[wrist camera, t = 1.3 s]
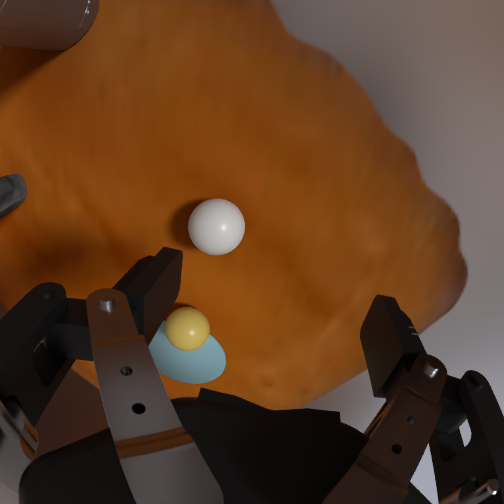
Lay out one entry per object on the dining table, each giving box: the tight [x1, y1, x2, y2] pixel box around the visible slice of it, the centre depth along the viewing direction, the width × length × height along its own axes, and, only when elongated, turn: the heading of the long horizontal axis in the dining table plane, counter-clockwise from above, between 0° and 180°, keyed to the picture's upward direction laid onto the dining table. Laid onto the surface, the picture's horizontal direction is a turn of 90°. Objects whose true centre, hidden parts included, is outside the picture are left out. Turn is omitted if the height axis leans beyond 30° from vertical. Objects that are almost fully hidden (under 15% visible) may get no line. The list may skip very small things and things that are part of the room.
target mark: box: [148, 320, 226, 384], centre depth 41 cm, size 13×13×1 cm
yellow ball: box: [165, 307, 210, 351], centre depth 35 cm, size 6×6×6 cm
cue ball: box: [188, 198, 245, 255], centre depth 29 cm, size 6×6×6 cm
